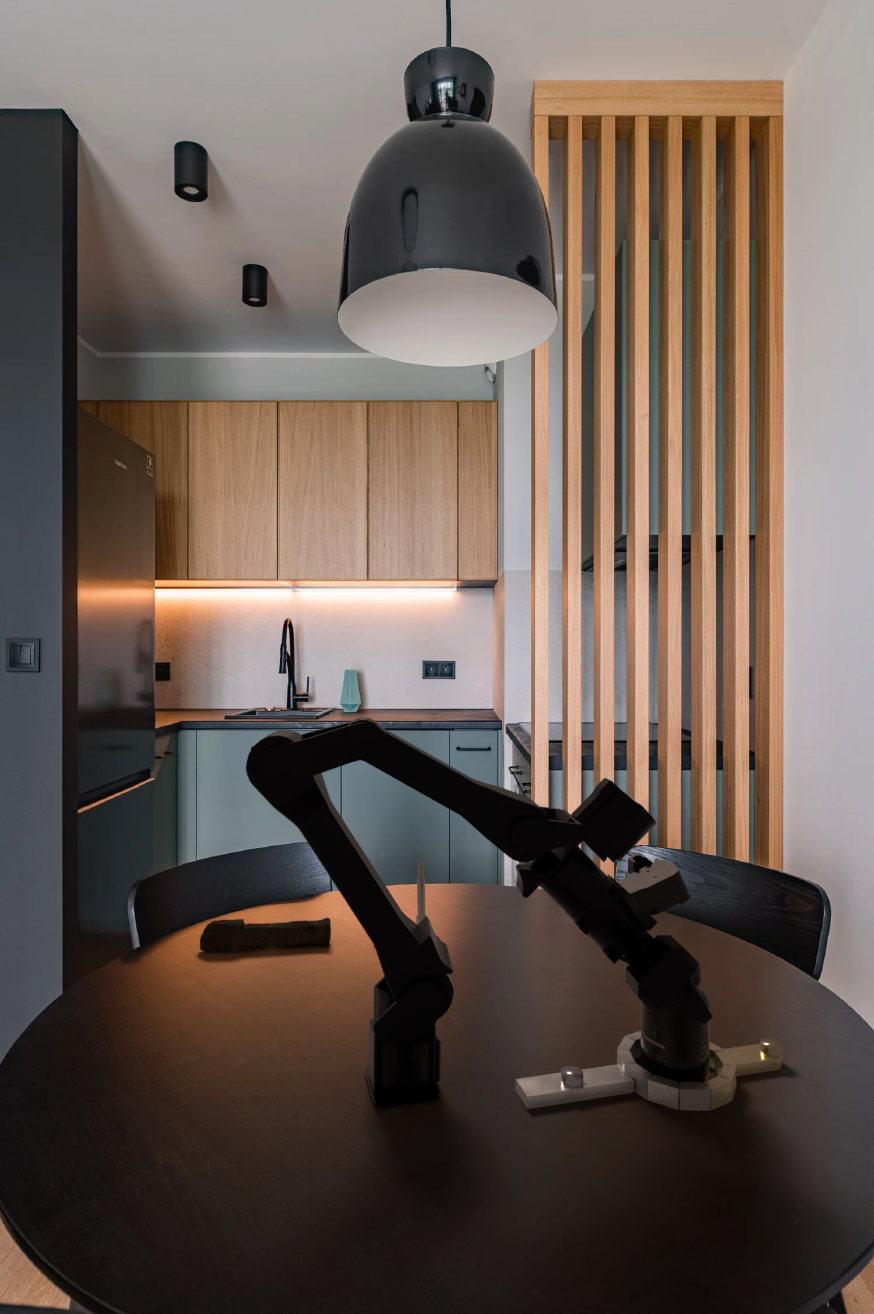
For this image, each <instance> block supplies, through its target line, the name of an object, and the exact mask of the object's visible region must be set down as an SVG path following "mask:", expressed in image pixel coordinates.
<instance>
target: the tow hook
mask: <svg viewBox="0 0 874 1314" xmlns="http://www.w3.org/2000/svg"><path fill="white" fill-rule="evenodd" d="M417 873H418V874H417V876H418V877H416V890H417V891H416V896H417V899H416V900H417V902H416V903H417V915H416V916H415V917H416V918H415V923H416V924H419V923H420V922H421V921H422V920H423V919H424V918H425V917H428V916H427V915H426V914H427V913H426V912H427V911H426V910H427V909H426V877H424V863H422V862H420V863H419V862H418V863H417ZM436 936H437V937H438V938H439V939H440V936H438V935H437V934H436ZM440 940H441V939H440Z"/></svg>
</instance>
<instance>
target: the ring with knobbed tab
mask: <svg viewBox="0 0 874 1314" xmlns="http://www.w3.org/2000/svg"><path fill="white" fill-rule="evenodd" d="M782 1066H783V1044H782V1042H780V1041H779V1040H777V1039H774V1038H771V1037H764V1038H761V1039H760V1040H759V1043H757V1044H750V1045H743V1046H734V1047H729V1048H722V1047H720V1046H719V1045H717V1044H715V1043H714V1042H711V1041H710V1056H709V1067H710V1068H709V1069H711V1070H712V1071H714V1070H715V1071H716V1072H715V1071H714V1072H715V1073H717V1074H716V1075H717V1076H716V1077H713V1078H711V1079H710V1078H709V1080H708V1081H705V1083H703V1084H704V1085H708V1086H707V1087H709V1088H710V1111H714V1110H716V1109H717V1108H720V1106H721V1107H722V1106H725V1105H727V1104H729V1102H730V1103H732V1102H733V1100H734V1096H735V1093H736V1089H737V1077H742V1076H747V1075H754V1074H762V1073H767V1072H772V1071H773V1072H774V1071H779V1070H782ZM713 1109H714V1110H713Z"/></svg>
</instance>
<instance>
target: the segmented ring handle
mask: <svg viewBox="0 0 874 1314" xmlns="http://www.w3.org/2000/svg"><path fill="white" fill-rule="evenodd" d="M616 1050H617V1052H616V1055H617V1058H616V1064H611V1065H604V1066H598V1067H590V1068H585V1069H583V1068H582V1069H581V1068H579V1067H577V1066H574V1065H573V1066H572V1065H567V1066H564V1067H562V1068H561V1069H560V1072H557V1073H556V1072H555V1073H548V1074H543V1075H542V1074H541V1075H536V1076H529V1077H521V1078H515V1092H516V1094H517V1096H518V1097H519V1099H520V1100H521V1103H522V1104H523V1106H524V1107H525V1108H526V1109H527V1110H530V1109H536V1108H537V1109H538V1108H544V1107H550V1106H556V1105H562V1104H571V1103H575V1102H581V1101H583V1102H584V1101H588V1100H594V1099H595V1100H596V1099H603V1098H606V1097H607V1098H608V1097H614V1096H620V1095H626V1094H632V1093H636V1094H637V1095H639V1096H641V1098H643V1099H645V1100H646V1101H649V1102H651V1103H654V1104H658V1105H661V1106H665V1107H668V1108H671V1109H674V1110H676V1111H677V1110H679V1111H698V1112H699V1111H701V1110H702V1111H703V1112H704V1111H706V1112H709V1111H711V1110H710V1088H709V1087H707V1086H708V1085H704V1084H703V1083H705V1082H677V1081H673V1080H670V1079H666V1078H663V1077H659V1076H656V1075H653V1074H652V1073H650V1072H649V1071H647V1070H645V1069H644V1068H642V1067H641V1065H639V1064H638V1063H637V1062H636V1061H635V1060H636V1059H638V1058H640V1051H641V1030H638V1031H635V1032H633V1033H629V1034H627V1035H625V1036H623V1038H622V1040H621V1041H620V1043H619V1045H618V1046H617V1049H616ZM708 1110H709V1111H708Z"/></svg>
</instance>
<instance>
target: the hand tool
mask: <svg viewBox="0 0 874 1314" xmlns="http://www.w3.org/2000/svg"><path fill="white" fill-rule="evenodd" d="M331 938H332V924H331V919H330V917H324V918H322V919H318V920H307V919H305V920H291V921H288V922H287V921H285V922H269V923H268V922H267V923H258V922H257V923H255V922H254V923H251V922H250V923H249V922H248V923H245V920H244V919H243V918H238V919H237V918H236V919H218V920H212V921H210V922H209V923H207V924H206V926H205V928H204V929H203V932H202V934H201V935H200V939H199V950H200V951H201V952H203V951H204V952H208V953H216V954H217V953H218V954H219V953H223V954H224V953H231V954H236V953H240V952H242V950H245V949H249V948H250V949H253V948H270V947H286V946H287V947H290V946H291V947H293V946H314V945H324V946H325V947H326V948H329V947H330V944H331Z"/></svg>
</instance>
